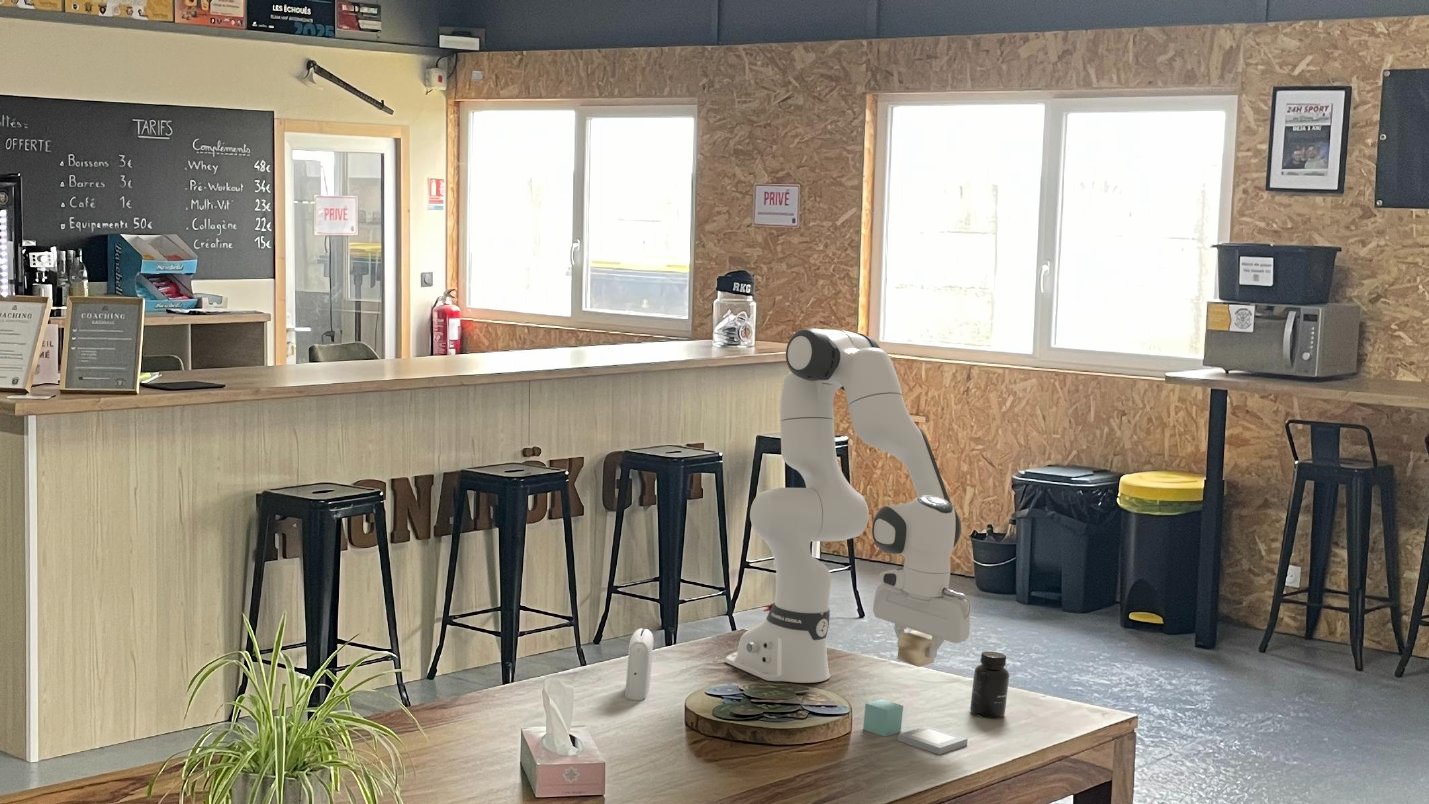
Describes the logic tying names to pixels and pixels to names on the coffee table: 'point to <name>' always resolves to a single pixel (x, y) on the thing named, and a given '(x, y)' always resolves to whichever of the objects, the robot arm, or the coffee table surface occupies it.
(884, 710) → the teal cube
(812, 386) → the robot arm
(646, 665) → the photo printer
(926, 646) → the maple cube
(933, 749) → the plate
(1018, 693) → the coffee table surface
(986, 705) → the supplement bottle
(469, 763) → the coffee table surface
